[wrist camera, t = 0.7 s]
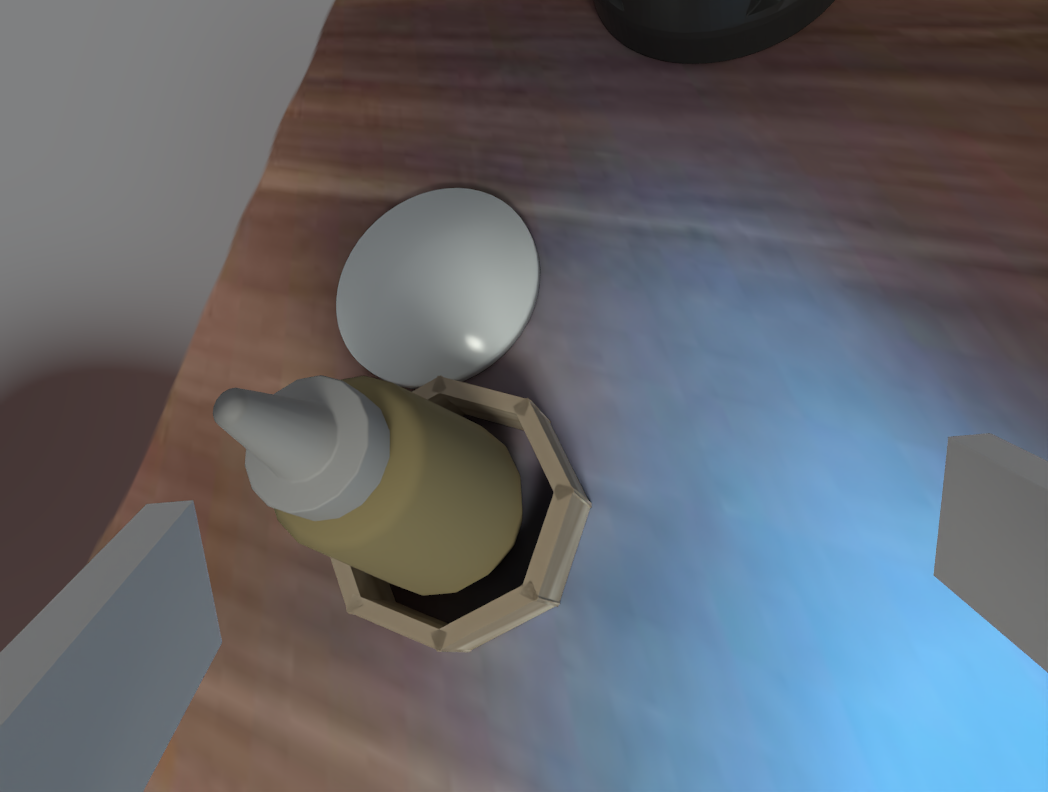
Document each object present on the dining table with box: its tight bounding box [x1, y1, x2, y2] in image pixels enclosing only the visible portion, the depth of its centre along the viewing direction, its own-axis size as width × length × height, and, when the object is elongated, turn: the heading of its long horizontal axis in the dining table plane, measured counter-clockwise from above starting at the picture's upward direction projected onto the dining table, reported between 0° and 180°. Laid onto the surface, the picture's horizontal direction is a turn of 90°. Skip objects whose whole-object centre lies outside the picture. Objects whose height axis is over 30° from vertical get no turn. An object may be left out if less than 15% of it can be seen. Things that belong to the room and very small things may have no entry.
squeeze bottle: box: [213, 375, 522, 595], centre depth 29 cm, size 8×8×18 cm
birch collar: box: [330, 375, 592, 652], centre depth 35 cm, size 12×12×4 cm
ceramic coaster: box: [336, 188, 540, 389], centre depth 42 cm, size 12×12×1 cm
